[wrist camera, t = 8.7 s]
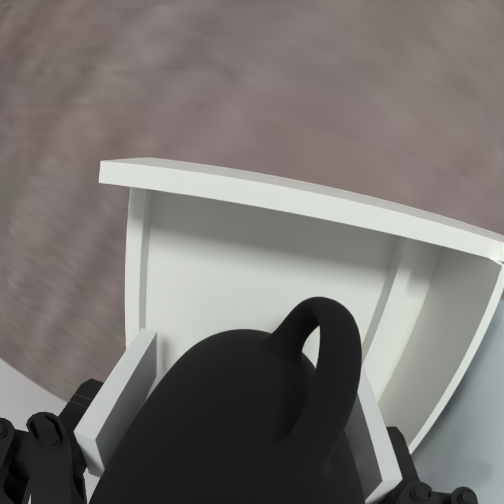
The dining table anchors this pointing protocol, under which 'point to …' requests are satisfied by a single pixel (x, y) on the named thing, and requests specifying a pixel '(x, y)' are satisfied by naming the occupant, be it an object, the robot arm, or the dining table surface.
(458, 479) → the plate in rack
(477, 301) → the dish rack
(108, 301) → the dining table surface
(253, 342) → the mug
